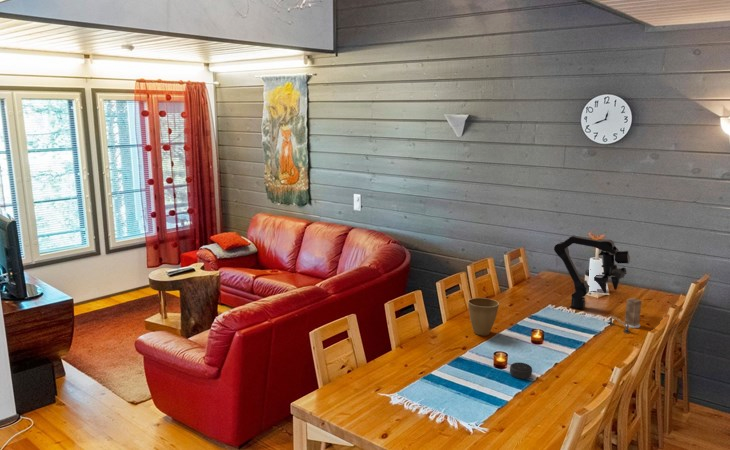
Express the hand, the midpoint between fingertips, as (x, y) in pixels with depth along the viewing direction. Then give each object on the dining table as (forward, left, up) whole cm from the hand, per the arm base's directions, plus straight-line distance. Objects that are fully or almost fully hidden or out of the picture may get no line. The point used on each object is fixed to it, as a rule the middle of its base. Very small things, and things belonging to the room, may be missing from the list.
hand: (610, 291), depth 322 cm
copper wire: (+13, -19, -13) cm, 26 cm away
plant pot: (-32, -75, -13) cm, 83 cm away
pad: (+16, -10, -13) cm, 23 cm away
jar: (-26, +37, -13) cm, 47 cm away
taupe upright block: (+16, -10, -12) cm, 22 cm away
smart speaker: (+6, -104, -13) cm, 105 cm away
